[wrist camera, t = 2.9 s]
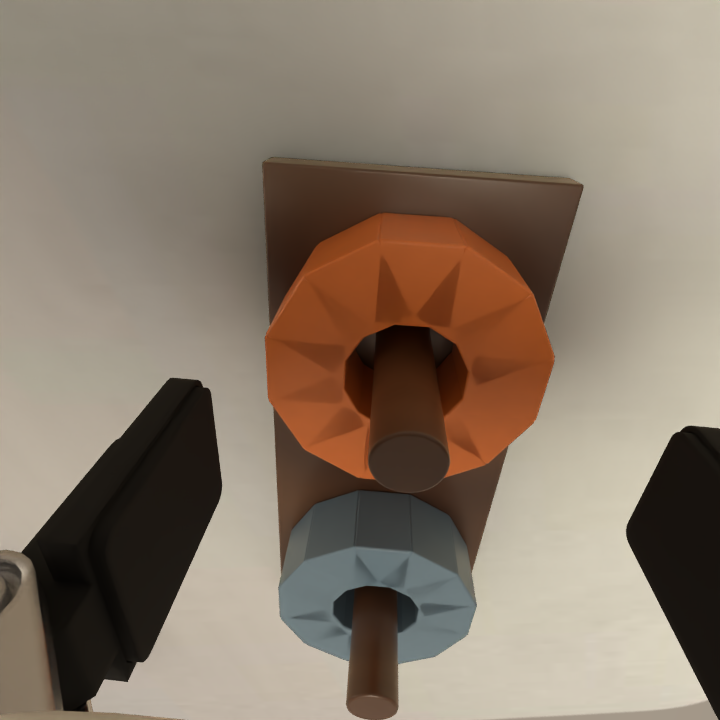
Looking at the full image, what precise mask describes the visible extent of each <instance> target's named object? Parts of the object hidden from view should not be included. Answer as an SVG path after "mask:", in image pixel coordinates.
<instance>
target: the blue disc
mask: <svg viewBox="0 0 720 720" xmlns="http://www.w3.org/2000/svg"><path fill="white" fill-rule="evenodd" d="M363 586H378V587H389V588H392V589H394V590H396V591H397V621H398V664H401V663H406V662H411V661H416V660H421V659H426V658H431V657H435V656H436V655H438V654H440V653H441V652H443V651H444V650H446V649H447V648H449V647H450V646H452V645H453V644H455V643H456V642H458V641H459V640H461V639H462V638H464V637H466V635H468V632H469V629H470V626H471V622H472V619H473V616H474V613H475V610H476V607H477V604H476V598H475V592H474V586H473V580H472V574H471V567H470V561H469V555H468V549H467V545H466V544H465V542H464V540H463V538H462V537H461V535H460V533H459V531H458V530H457V528H456V526H455V524H454V523H453V521H452V519H451V517H450V516H449V515H448V514H446V513H444V512H442V511H440V510H438V509H437V508H435V507H433V506H431V505H429V504H427V503H425V502H423V501H422V500H420V499H418V498H416V497H414V496H412V495H408V494H399V493H388V492H376V491H364V490H360V491H359V490H357V491H354V492H351V493H348V494H345V495H342V496H338V497H335V498H332V499H329V500H326V501H323V502H320V503H317V504H314V506H313V507H312V508H311V509H310V510H309V511H308V512H307V513H306V514H305V516H304V517H303V518H302V519H301V520H300V521H299V522H298V523H297V525H296V526H295V527H294V528H293V529H292V530H291V534H290V539H289V543H288V547H287V552H286V556H285V561H284V565H283V569H282V574H281V578H280V583H279V587H278V589H279V608H280V617H281V619H282V620H283V621H284V623H285V624H286V625H287V626H288V627H289V628H290V629H291V630H292V631H293V632H294V633H295V634H296V635H297V636H298V637H299V638H300V639H301V640H302V641H303V642H304V643H306V644H307V645H309V646H311V647H314V648H316V649H319V650H321V651H324V652H326V653H328V654H331V655H333V656H336V657H338V658H341V659H343V660H346V661H349V658H350V645H351V631H352V618H353V604H354V591H355V588H359V587H363Z"/></svg>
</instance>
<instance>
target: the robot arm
mask: <svg viewBox="0 0 720 720" xmlns="http://www.w3.org/2000/svg"><path fill="white" fill-rule="evenodd" d="M221 491H222V479H221V471H220V463H219V455H218V447H217V438H216V430H215V422H214V414H213V406H212V398H211V392H210V390H209V389H208V388H203V385H202V383H201V381H199V380H191V379H181V378H170V379H169V380H168V381H167V382H166V383H165V384H164V385H163V386H162V388H161V389H160V390H159V391H158V393H157V394H156V395H155V396H154V397H153V399H152V400H151V401H150V402H149V404H148V405H147V406H146V407H145V408H144V410H143V411H142V412H141V413H140V414H139V416H138V417H137V418H136V419H135V421H134V422H133V423H132V424H131V425H130V427H129V428H128V429H127V430H126V431H125V433H124V434H123V435H122V436H121V438H119V439H117V440H116V441H115V442H113V443H112V444H111V445H110V447H109V448H108V449H107V450H106V451H105V453H104V454H103V455H102V456H101V457H100V459H99V460H98V461H97V462H96V463H95V465H94V466H93V467H92V468H91V469H90V471H89V472H88V473H87V474H86V475H85V477H84V478H83V479H82V480H81V481H80V483H79V484H78V485H77V486H76V487H75V489H74V490H73V491H72V492H71V493H70V495H69V496H68V497H67V498H66V499H65V501H64V502H63V503H62V504H61V505H60V507H59V508H58V509H57V510H56V511H55V513H54V514H53V515H52V516H51V517H50V519H49V520H48V521H47V522H46V523H45V525H44V526H43V527H42V528H41V529H40V531H39V532H38V533H37V534H36V535H35V537H34V538H33V539H32V540H31V541H30V543H29V544H28V545H27V546H26V547H25V549H24V550H23V551H22V552H21V553H20V552H15V551H10V550H0V720H183V719H172V718H162V717H151V716H141V715H130V714H120V713H101V712H93V709H92V704H91V698H93V697H94V696H96V694H97V692H98V690H99V688H100V686H101V684H102V682H103V680H104V679H107V680H116V681H124V682H128V680H129V678H130V676H131V673H132V671H133V669H134V667H135V665H136V663H137V662H144V661H145V660H146V659H147V658H148V656H149V655H150V653H151V651H152V649H153V646H154V644H155V642H156V640H157V638H158V635H159V633H160V631H161V629H162V626H163V624H164V622H165V620H166V618H167V615H168V613H169V611H170V609H171V606H172V604H173V602H174V600H175V598H176V595H177V593H178V591H179V589H180V586H181V584H182V582H183V580H184V578H185V575H186V573H187V571H188V569H189V566H190V564H191V562H192V560H193V558H194V555H195V553H196V551H197V549H198V546H199V544H200V542H201V540H202V538H203V535H204V533H205V531H206V529H207V526H208V524H209V522H210V520H211V518H212V515H213V513H214V511H215V509H216V506H217V504H218V502H219V499H220V496H221ZM626 536H627V540H628V543H629V545H630V547H631V549H632V551H633V553H634V555H635V557H636V559H637V561H638V563H639V565H640V567H641V569H642V571H643V573H644V575H645V576H646V578H647V580H648V582H649V584H650V586H651V588H652V590H653V592H654V594H655V596H656V598H657V600H658V602H659V604H660V606H661V608H662V610H663V612H664V614H665V616H666V618H667V620H668V622H669V624H670V626H671V628H672V630H673V631H674V633H675V635H676V637H677V639H678V641H679V643H680V645H681V647H682V649H683V651H684V653H685V655H686V657H687V659H688V661H689V663H690V665H691V667H692V669H693V671H694V673H695V675H696V677H697V679H698V681H699V683H700V685H701V686H702V688H703V690H704V692H705V694H706V696H707V698H708V700H709V702H710V704H711V706H712V708H713V710H714V712H715V714H716V716H717V717H718V719H719V720H720V429H719V428H709V427H699V426H686V427H685V428H683V429H682V430H681V431H680V432H677V433H675V434H674V435H673V436H672V437H671V439H670V441H669V443H668V445H667V447H666V449H665V451H664V453H663V455H662V457H661V459H660V461H659V463H658V465H657V467H656V469H655V471H654V473H653V475H652V476H651V478H650V480H649V482H648V484H647V486H646V488H645V490H644V492H643V494H642V496H641V498H640V500H639V502H638V504H637V506H636V508H635V510H634V512H633V514H632V516H631V518H630V520H629V522H628V524H627V529H626Z"/></svg>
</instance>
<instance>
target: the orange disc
mask: <svg viewBox="0 0 720 720" xmlns="http://www.w3.org/2000/svg"><path fill="white" fill-rule="evenodd" d="M393 325H406V326H419V327H430V328H431V329H433V330H434V331H436V332H437V333H439V334H440V335H442V336H443V337H445V338H447V339H448V340H450V341H451V342H453V348H452V352H451V353H450V354H449V355H448V357H447V358H446V359H445V360H444V361H443V362H442V363H441V364H440V365H439V367H438V368H437V369H436V372H437V379H438V385H439V391H440V398H441V404H442V410H443V417H444V423H445V429H446V436H447V442H448V449H449V455H450V466H449V470H448V472H447V474H446V476H445V477H449V476H452V475H455V474H458V473H462V472H465V471H468V470H471V469H475V468H478V467H481V466H484V465H486V464H488V463H489V462H490V461H492V460H493V459H494V458H495V457H496V456H497V455H498V454H499V453H500V452H502V451H503V450H504V449H505V448H506V447H507V446H508V445H509V444H511V443H512V442H513V441H514V440H515V439H516V438H517V437H518V436H520V435H521V434H522V433H523V432H524V431H525V430H526V429H527V428H528V427H530V426H531V425H532V424H533V423H534V421H535V420H536V418H537V415H538V412H539V408H540V405H541V402H542V399H543V396H544V393H545V390H546V386H547V383H548V380H549V377H550V374H551V371H552V368H553V364H554V358H555V356H554V353H553V350H552V347H551V344H550V341H549V338H548V335H547V332H546V329H545V326H544V323H543V320H542V317H541V314H540V311H539V308H538V306H537V303H536V300H535V297H534V294H533V293H532V291H531V290H530V288H529V287H528V285H527V284H526V282H525V281H524V280H523V278H522V277H521V275H520V274H519V272H518V271H517V269H516V268H515V266H514V265H513V264H512V262H511V261H510V260H509V258H508V257H507V256H506V255H504V254H503V253H502V252H500V251H499V250H498V249H496V248H495V247H493V246H492V245H491V244H489V243H488V242H487V241H485V240H484V239H482V238H481V237H480V236H478V235H477V234H476V233H474V232H473V231H471V230H470V229H469V228H467V227H466V226H465V225H463V224H462V223H460V222H459V221H458V220H456V219H453V218H450V217H436V216H422V215H409V214H395V213H379V214H377V215H375V216H372V217H370V218H368V219H366V220H364V221H362V222H360V223H358V224H356V225H354V226H352V227H350V228H348V229H346V230H344V231H342V232H340V233H338V234H336V235H334V236H332V237H330V238H328V239H326V240H324V241H322V242H320V243H319V244H318V245H317V246H316V247H315V249H314V250H313V252H312V254H311V255H310V257H309V258H308V260H307V262H306V263H305V265H304V266H303V268H302V270H301V271H300V273H299V275H298V276H297V278H296V279H295V281H294V283H293V284H292V286H291V287H290V289H289V291H288V292H287V294H286V295H285V297H284V299H283V301H282V303H281V305H280V307H279V309H278V311H277V313H276V315H275V317H274V319H273V321H272V323H271V325H270V327H269V329H268V331H267V333H266V336H265V349H266V368H267V387H268V398H269V401H270V403H271V404H272V405H273V407H274V408H275V410H276V411H277V412H278V414H279V415H280V417H281V418H282V419H283V421H284V422H285V424H286V425H287V426H288V428H289V429H290V431H291V432H292V433H293V435H294V436H295V438H296V439H297V440H298V442H299V443H300V445H301V446H302V447H303V449H305V450H306V451H308V452H310V453H312V454H314V455H316V456H317V457H319V458H321V459H323V460H325V461H327V462H329V463H331V464H333V465H335V466H337V467H338V468H340V469H342V470H344V471H346V472H348V473H350V474H352V475H354V476H356V477H357V478H360V477H361V478H363V479H375V478H374V477H373V475H372V474H371V472H370V469H369V466H368V449H369V434H370V418H371V403H372V387H373V372H374V370H372V369H371V368H369V367H367V366H366V365H364V364H363V362H362V361H361V359H360V357H359V355H358V354H357V352H356V350H355V348H356V347H357V346H358V345H359V343H360V342H361V341H362V339H363V338H364V337H367V336H369V335H371V334H374V333H376V332H379V331H381V330H383V329H386V328H388V327H391V326H393ZM445 477H444V478H445ZM375 480H376V479H375Z"/></svg>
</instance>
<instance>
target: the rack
mask: <svg viewBox="0 0 720 720" xmlns="http://www.w3.org/2000/svg"><path fill="white" fill-rule="evenodd" d="M262 172H263V193H264V215H265V236H266V258H267V279H268V301H269V322H270V325H271V323H272V321H273V319H274V317H275V315H276V313H277V311H278V309H279V307H280V305H281V303H282V301H283V299H284V297H285V295H286V294H287V292H288V291H289V289H290V287H291V286H292V284H293V283H294V281H295V279H296V278H297V276H298V275H299V273H300V271H301V270H302V268H303V266H304V265H305V263H306V262H307V260H308V258H309V257H310V255H311V254H312V252H313V250H314V249H315V247H316V246H317V245H318V244H319V243H320V242H322V241H324V240H326V239H328V238H330V237H332V236H334V235H336V234H338V233H340V232H342V231H344V230H346V229H348V228H350V227H352V226H354V225H356V224H358V223H360V222H362V221H364V220H366V219H368V218H370V217H372V216H375V215H377V214H379V213H395V214H409V215H422V216H436V217H450V218H453V219H456V220H458V221H459V222H460V223H462V224H463V225H465V226H466V227H467V228H469V229H470V230H471V231H473V232H474V233H476V234H477V235H478V236H480V237H481V238H482V239H484V240H485V241H487V242H488V243H489V244H491V245H492V246H493V247H495V248H496V249H498V250H499V251H500V252H502V253H503V254H504V255H506V256H507V257H508V258H509V260H510V261H511V262H512V264H513V265H514V266H515V268H516V269H517V271H518V272H519V274H520V275H521V277H522V278H523V280H524V281H525V282H526V284H527V285H528V287H529V288H530V290H531V291H532V293H533V294H534V297H535V300H536V303H537V306H538V308H539V311H540V314H541V317H542V320H543V323H544V322H545V318H546V315H547V311H548V308H549V304H550V301H551V298H552V294H553V291H554V287H555V284H556V280H557V277H558V273H559V270H560V267H561V263H562V260H563V256H564V253H565V249H566V246H567V242H568V239H569V236H570V232H571V229H572V225H573V222H574V218H575V215H576V211H577V208H578V205H579V201H580V198H581V194H582V191H583V185H582V184H580V183H578V182H576V181H574V180H572V179H570V178H560V177H546V176H532V175H518V174H504V173H489V172H475V171H461V170H447V169H433V168H419V167H405V166H391V165H377V164H363V163H349V162H335V161H321V160H307V159H293V158H279V157H271V158H269V159H268V160H266V161H264V162H263V164H262ZM452 348H453V342H451V341H450V340H448V339H447V338H445V337H443V336H442V335H440V334H439V333H437V332H436V331H434V330H433V329H431V328H430V327H419V326H406V325H393V326H391V327H388V328H386V329H383V330H381V331H379V332H376V333H374V334H371V335H369V336H367V337H364V338H363V339H362V341H361V342H360V343H359V345H358V346H357V347H356V348H355V350H356V352H357V354H358V355H359V357H360V359H361V361H362V362H363V364H364V365H366V366H367V367H369V368H371V369H372V370H374V372H373V387H372V403H371V418H370V434H369V449H368V466H369V469H370V472H371V474H372V475H373V477H374V478H375V479H376V480H375V479H363V478H361V477H360V478H357V477H356V476H354V475H352V474H350V473H348V472H346V471H344V470H342V469H340V468H338V467H337V466H335V465H333V464H331V463H329V462H327V461H325V460H323V459H321V458H319V457H317V456H316V455H314V454H312V453H310V452H308V451H306V450H305V449H303V447H302V446H301V445H300V443H299V442H298V440H297V439H296V438H295V436H294V435H293V433H292V432H291V431H290V429H289V428H288V426H287V425H286V424H285V422H284V421H283V419H282V418H281V417H280V415H279V414H278V412H277V411H276V410H275V408H274V407H273V408H274V429H275V451H276V472H277V494H278V515H279V536H280V558H281V574H282V569H283V565H284V561H285V556H286V552H287V547H288V543H289V539H290V534H291V530H292V529H293V528H294V527H295V526H296V525H297V523H298V522H299V521H300V520H301V519H302V518H303V517H304V516H305V514H306V513H307V512H308V511H309V510H310V509H311V508H312V507H313V506H314V504H317V503H320V502H323V501H326V500H329V499H332V498H335V497H338V496H342V495H345V494H348V493H351V492H354V491H357V490H359V491H360V490H364V491H376V492H388V493H399V494H408V495H412V496H414V497H416V498H418V499H420V500H422V501H423V502H425V503H427V504H429V505H431V506H433V507H435V508H437V509H438V510H440V511H442V512H444V513H446V514H448V515H449V516H450V517H451V519H452V521H453V523H454V524H455V526H456V528H457V530H458V531H459V533H460V535H461V537H462V538H463V540H464V542H465V544H466V545H467V549H468V555H469V561H470V567H471V573H472V570H473V566H474V563H475V559H476V556H477V552H478V549H479V545H480V542H481V539H482V535H483V532H484V528H485V525H486V521H487V518H488V514H489V511H490V508H491V504H492V501H493V497H494V494H495V490H496V487H497V483H498V480H499V477H500V473H501V470H502V466H503V463H504V459H505V456H506V453H507V449H508V446H509V445H508V446H507V447H506V448H505V449H504V450H503V451H502V452H500V453H499V454H498V455H497V456H496V457H495V458H494V459H493V460H492V461H490V462H489V463H488V464H486V465H484V466H481V467H478V468H475V469H471V470H468V471H465V472H462V473H458V474H455V475H452V476H449V477H445V476H446V474H447V472H448V470H449V466H450V455H449V449H448V442H447V436H446V429H445V423H444V417H443V410H442V404H441V398H440V391H439V385H438V379H437V372H436V369H437V368H438V367H439V365H440V364H441V363H442V362H443V361H444V360H445V359H446V358H447V357H448V355H449V354H450V353H451V352H452ZM444 477H445V478H444ZM346 705H347V709H348V711H349V712H350V713H352V714H353V715H355V716H357V717H360V718H363V719H368V720H382V719H387V718H390V717H392V716H394V715H395V714H396V713H397V710H398V621H397V591H396V590H394V589H392V588H389V587H378V586H363V587H359V588H355V591H354V604H353V618H352V631H351V645H350V658H349V672H348V685H347V699H346Z"/></svg>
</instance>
